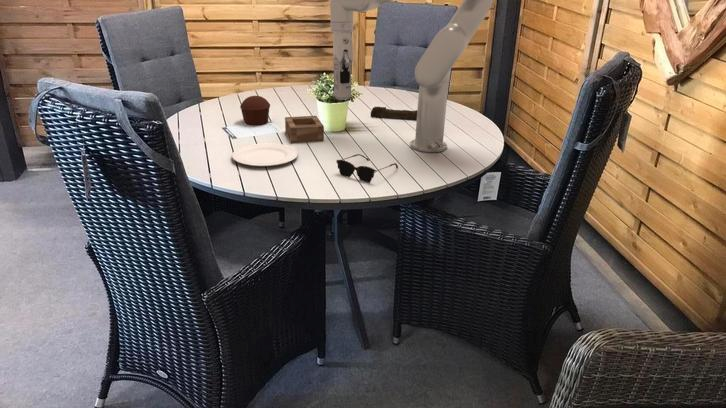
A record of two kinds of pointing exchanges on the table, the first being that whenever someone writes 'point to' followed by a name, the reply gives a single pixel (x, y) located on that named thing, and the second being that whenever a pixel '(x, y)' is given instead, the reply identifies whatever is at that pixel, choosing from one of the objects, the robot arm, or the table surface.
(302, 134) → the holder block
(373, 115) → the hand tool
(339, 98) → the energy drink can
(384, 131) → the table surface
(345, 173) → the sunglasses
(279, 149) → the plate
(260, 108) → the muffin
